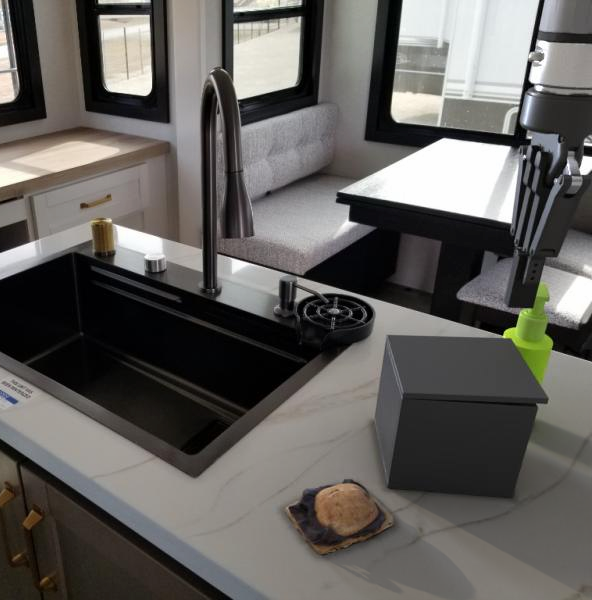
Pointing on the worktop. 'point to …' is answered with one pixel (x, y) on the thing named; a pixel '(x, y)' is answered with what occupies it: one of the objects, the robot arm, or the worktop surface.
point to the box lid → (463, 369)
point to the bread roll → (338, 515)
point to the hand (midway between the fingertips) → (518, 304)
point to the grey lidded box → (450, 441)
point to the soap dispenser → (533, 334)
